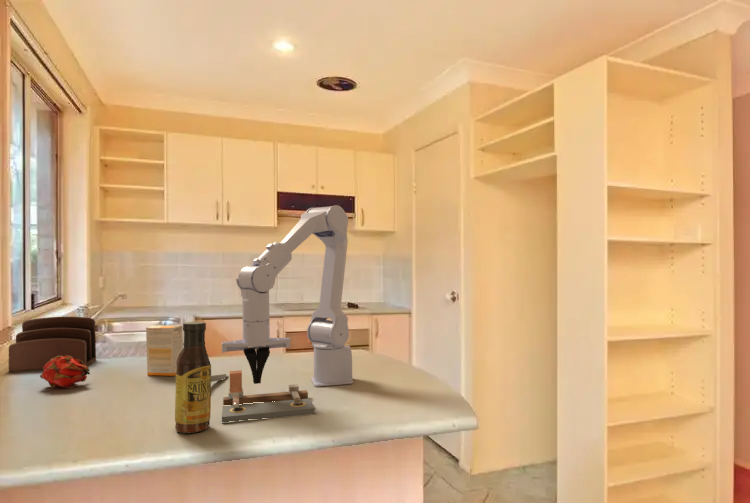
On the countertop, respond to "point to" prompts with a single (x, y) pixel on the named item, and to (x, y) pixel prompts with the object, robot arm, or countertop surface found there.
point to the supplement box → (163, 349)
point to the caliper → (218, 377)
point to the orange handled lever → (236, 387)
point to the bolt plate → (268, 410)
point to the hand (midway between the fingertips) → (256, 382)
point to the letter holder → (52, 342)
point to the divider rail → (272, 396)
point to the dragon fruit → (64, 371)
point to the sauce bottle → (193, 381)
